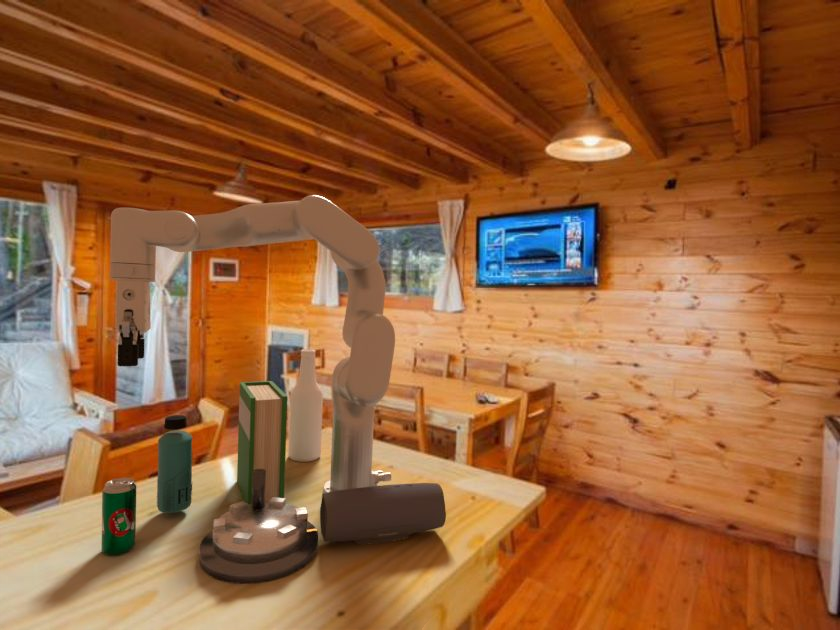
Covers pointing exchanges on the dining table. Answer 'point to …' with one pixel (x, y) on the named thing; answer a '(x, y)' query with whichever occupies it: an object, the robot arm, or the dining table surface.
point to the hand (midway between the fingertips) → (131, 361)
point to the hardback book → (262, 437)
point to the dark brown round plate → (257, 571)
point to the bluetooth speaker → (381, 512)
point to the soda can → (118, 516)
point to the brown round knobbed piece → (259, 527)
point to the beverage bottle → (174, 467)
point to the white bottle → (306, 412)
